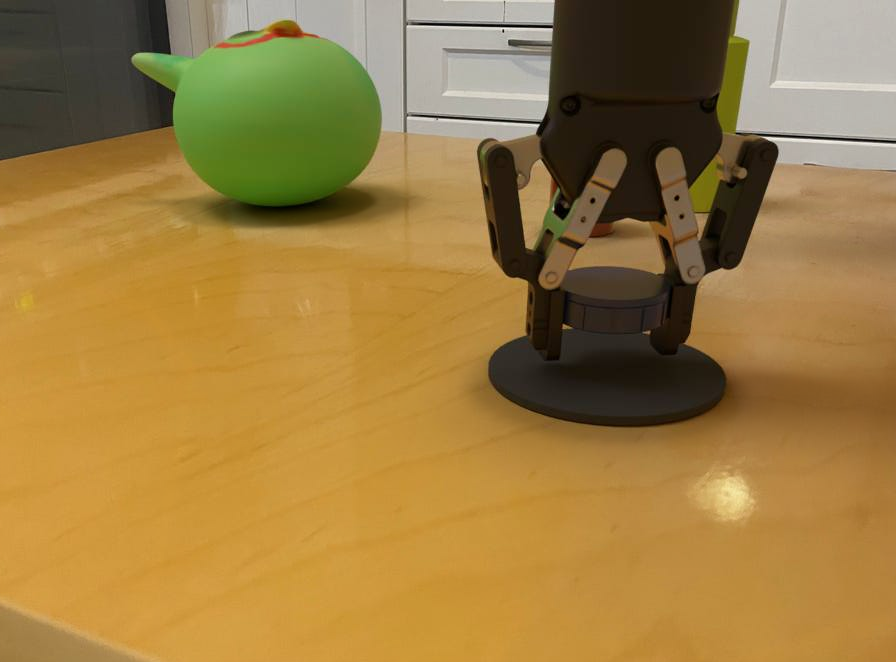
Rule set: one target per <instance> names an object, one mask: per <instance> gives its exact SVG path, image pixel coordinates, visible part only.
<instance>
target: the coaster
mask: <svg viewBox="0 0 896 662" xmlns="http://www.w3.org/2000/svg"><path fill="white" fill-rule="evenodd" d="M487 365H488V367H487V375H488V379H489V381H490V383H491V384H492V387H494V389H495V390H496V391H497V392H499V393H500V394H501V395H502V396H503V397H505V398H506V399H508V400H509V401H510V402H513V403H515V404H516V405H518V406H521V407H523V408H526V409H529V410H531V411H533V412H536V413H540V414H541V415H545V416H550V417H554V418H557V419H561V420H566V421H572V422H578V423H584V424H593V425H605V426H628V427H629V426H649V425H659V424H665V423H673V422H678V421H681V420H686V419H689V418H692V417H695V416H698V415H700V414H702V413H705V412H707V411H710V410H711V408H713V407H715V406H716V405H717V404H718V403H719V402H720V401H721V400H722V399H723V397H724V394H725V392H726V387H727V376H726V375H727V374H726V372H725V371H724V369H723V367H722V366H721V365H720V364H719V363H718V362H717V361H716V360H715V359H713V357H711V356H710V355H708V354H707V353H705V352H703V351H702V350H699V349H698V348H695V347H693V346H691V345H688V344H686V343H679V346H678V351H677V354H676V355H660V354H659V353H658V352H657V351H656V350H655V349H654V348H653V347H652V346H651V344H650V333H646V332H642V333H635V334H617V335H616V334H602V333H592V332H588V331H583V330H579V329H574V328H571V327H569V328H563V330H562V342H561V354H560V359H559V360H558V361H544V360H543V358H542V357H541V356H540V354H539V353H538V351H537V350H535V349H534V348H533V346H532V345H531V343H530V342H529V340H528V337H527V334H525V335H523V336H519V337H516V338H513V339H511V340H510V341H507V342H505V343H504V344H502V345H501V346H499V347H497V349H496V350H494V351H493V353H492V354H491V356H490V357H489V360H488V363H487Z"/></svg>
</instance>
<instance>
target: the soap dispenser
mask: <svg viewBox="0 0 896 662" xmlns="http://www.w3.org/2000/svg"><path fill="white" fill-rule="evenodd" d="M740 2H741V1H740V0H735V3H734V10H733V16H732V23H731V29H730V36H729V43H728V50H727V57H726V64H725V70H724V77H723V84H722V89H721V92H720V95H719V98H718V102H717V114H718V119H719V122H720V125H721V128H722V132H725V133H730V134H735V135H736V131H737V125H738V119H739V112H740V107H741V100H742V93H743V88H744V82H745V81H744V80H745V74H746V67H747V61H748V57H749V56H748V55H749V48H750V42H751V41H750V40H749V39H747V38H744V37H742V36H737V35H735V34H736V27H737V20H738V14H739V8H740V7H739V6H740ZM716 162H717V161H716V157H714V158H713V160H712V161H711V162H710V163H709V165H708V166H707V167H706V168H705V170H704V171H703V172H702V174H701V175H700V176H699V177H698V179H697V180H696V181H695V182H694V184H693V185H692V186H691V187H690V189H689V193H690V197H691V201H692V205H693V209H694V212H695V213H709V212H710V209H711V206H712V203H713V200H714V197H715V194H716V190H717V187H718V184H719V181H720V178H719V177H718V176H717V174H716Z"/></svg>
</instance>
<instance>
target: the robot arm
mask: <svg viewBox="0 0 896 662" xmlns="http://www.w3.org/2000/svg"><path fill="white" fill-rule="evenodd" d="M734 3H735V0H554V2H553V17H552V31H551V32H552V33H551V48H550V65H549V77H548V78H549V80H548V98H547V106H546V107H547V108H546V109H545V113H544V116H543V118H542V120H541V122H540V123H539V125H538V127H537V129H536V131H535V134H531V135H527V136H522V137H518V138H513V139H509V140H505V141H499V140H498V139H496V138H493V137H488V138H485V139H483V140H481V142H479V144H478V147H477V148H476V156H477V164H478V170H479V176H480V183H481V184H480V185H481V191H482V199H483V203H484V211H485V218H486V224H487V230H488V231H487V232H488V237H489V244H490V251H491V257H492V259H493V260H494V262H495V263H496V265H498V267H499V268H500V269H501V271H502V273H504V275H506V276H507V277H508V278H511V279H517V278H518V279H521V280H524V281H526V282H527V299H526V315H525V330H524V331H525V335H527V337H528V340H529V342H530V343H531V345H532V346H533V348H534V349H535V350H537V351H538V353H539V354H540V356H541V357H542V358H543V360H544V361H558V360H559V359H560V354H561V342H562V330H563V329H564V328H563V327H564V324H563V318H564V305H565V293H566V291H565V289H564V288H563V287H562V286H561V283H562V282H563V280H564V278H565V276H566V274H567V272H568V270H570V267H571V265H572V263H573V261H574V259H575V257H576V255H577V253H578V251H579V250H580V249H582V248H583V247H584V246H585V245H586V244H587V242H588V240H589V238H590V237H589V236H590V234H591V232H592V230H593V228H594V226H595V224H597V223H613V222H614V223H616V222H619V221H622V220H625V219H631V220H635V221H638V222H642V223H649V226H650V228H651V230H652V231H653V233H654V235H655V238H656V242H657V246H658V248H659V253H660V256H661V260H662V263H663V266H664V272H662V273H661V272H660V273H656V274H657V275H659V276H661V277H662V278H664V279H665V280H666V281H667V282H669V283H670V284H671V291H670V298H669V306H668V314H667V319H666V322H665V323H664V325H662V326H660V327H658V328H656V329H654V330H650V331H649V334H650V344H651V346H652V347H653V348H654V349H655V350H656V351H657V352H658V353H659V354H660V355H676V354H677V351H678V346H679V343H683V344H686V342H687V340H688V338H689V337H690V335H691V329H692V324H693V323H692V322H693V317H694V310H695V305H696V304H695V303H696V297H697V291H698V286H699V283H700V281H701V280H702V279H703V278H704V277H705V276H706V275H708V274H710V273H713V272H715V271H718V270H721V269H723V270H726V271H731V270H733V269H735V268H737V267H738V266H739V265H740V264H741V262H742V260H743V257H744V254H745V251H746V249H747V246H748V244H749V241H750V238H751V235H752V231H753V229H754V226H755V223H756V220H757V217H758V215H759V212H760V209H761V206H762V204H763V201H764V197H765V195H766V192H767V189H768V186H769V184H770V181H771V178H772V175H773V172H774V169H775V166H776V164H777V161H778V158H779V153H780V151H779V147H778V145H777V143H775V142H774V141H772V140H769V139H767V138H765V137H763V136H760V135H757V134H752V133H750V132H741V133H739V134H736V133H735V134H730V133H725V132H722V128H721V125H720V122H719V119H718V114H717V102H718V98H719V95H720V92H721V89H722V84H723V77H724V70H725V64H726V57H727V50H728V43H729V36H730V29H731V23H732V16H733V10H734ZM714 157H716V161H717V162H716V174H717V176H718V177H719V178H720V181H719V184H718V187H717V190H716V194H715V197H714V200H713V203H712V206H711V209H710V212H708V215H707V218H706V221H705V224H704V227H703V230H702V232H701V236H700V239H699V238H698V234H699V232H700V230H699V225H698V221H697V217H696V212H694V209H693V205H692V201H691V197H690V193H689V189H690V187H691V186H692V185H693V184H694V182H695V181H696V180H697V179H698V177H699V176H700V175H701V174H702V172H703V171H704V170H705V168H706V167H707V166H708V165H709V163H710V162H711V161H712V160H713V158H714ZM540 160H541V162H542V164H543V165H544V167H545V169H546V171H547V172H548V173H549V174H550V177H551V176H552V178H553V180H554V181H555V183H556V184H557V186H558V188H557V190H556V193H555V195H554V197H553V199H552V201H551V203H550V205H549V204H548V208H547V210H546V212H545V214H544V217H543V220H542V227H541V230H540V232H539V235H538V237H537V239H536V241H535V243H534V246H533V247H532V249H531V248H528V247H526V240H525V233H524V225H523V217H522V209H521V202H520V201H521V200H520V193H519V191H521V190H523V189H525V188H526V187H527V186H528V185H529V183H530V181H531V171H532V169H533V167H534V165H535V163H536V162H538V161H540ZM565 203H566V204H565ZM564 204H565V205H564ZM582 218H583V219H582ZM581 219H582V220H581Z"/></svg>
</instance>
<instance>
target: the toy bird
mask: <svg viewBox="0 0 896 662" xmlns="http://www.w3.org/2000/svg"><path fill="white" fill-rule="evenodd" d="M131 63H132V65H133V66H134V67H135V68H136V69H138V70H139V71H140V72H142V73H143V74H144V75H146V76H148V78H151V79H152V80H154V81H156V82H157V83H159V84H161V85H162V86H164V87H165V88H167V89H169V90H171V91H172V92H174V93H175V97H174V99H173V105H172V106H173V107H172V124H173V125H172V126H173V131H174V135H175V139H176V142H177V145H178V148H179V150H180V152H181V154H182V156H183V158H184V160H185V162H186V163H187V164H188V166H189V167H190V169H191V170H192V171H193V173H194V174H196V176H197V177H198V178H199V179H200V180H202V181H203V183H204V184H206V185H207V186H209V188H211V189H213V190H214V191H216V192H217V193H219V194H221V195H223V196H225V197H227V198H229V199H232V200H234V201H236V202H241V203H244V204H249V205H254V206H261V207H290V206H297V205H303V204H304V205H305V204H309V203H312V202H315V201H319V200H322V199H324V198H327V197H330V196H331V195H334V194H336V193H337V192H339V191H340V190H343V189H344V188H345V187H348V185H350V184H351V183H353V181H355V180H356V179H357V178H358V177H359V176H360V175H361V174H363V172H364V171H365V169H366V168H367V167H368V165H369V164H370V162H371V161H372V159H373V157H374V156H375V153H376V151H377V149H378V145H379V143H380V138H381V135H382V134H381V133H382V126H383V125H382V124H383V112H382V105H381V100H380V96H379V93H378V90H377V88H376V86H375V84H374V81H373V79H372V77H371V76H370V74H369V72H368V71H367V69H366V68H365V67H364V65H363V64H362V63H361V62H360V61H359V60H358V59H357V58H356V56H354V55H353V54H352V53H351V52H350V51H349V50H347V49H346V48H344V47H342V46H341V45H340V44H338V43H336V42H334V41H332V40H330V39H328V38H325V37H320V36H319V35H318V34H315V33H310V32H307V31H306V32H305V31H303V29H302V28H301V27H300V25H299V24H298V23H297V22H296V21H295V20H293V19H287V18H285V19H284V18H283V19H278V20H276V21H274V22H272V23H270V24H268V25H267V26H265V27H264V28H262V29H259V30H250V29H249V30H245V31H244V30H243V31H241V32H237V33H234V34H232V35H231V36H229V37H228V38H226V39H224V40H221V41H220V42H218V43H216V44H214V45H212V46H211V47H209V48H208V49H206V50H205V51H204V52H202V53H201V54H200V55H199V56H198V57H189V56H181V55H176V54H175V55H174V54H167V53H157V52H138V53H135V54H133V55H132V57H131Z"/></svg>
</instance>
